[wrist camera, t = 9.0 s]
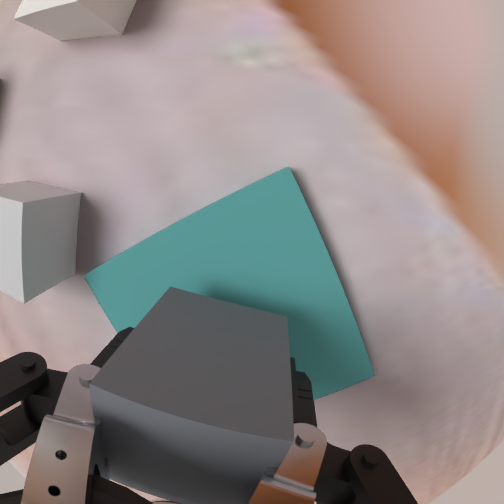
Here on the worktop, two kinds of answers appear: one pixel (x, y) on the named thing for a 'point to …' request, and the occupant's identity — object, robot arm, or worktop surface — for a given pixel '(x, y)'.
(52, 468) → the robot arm
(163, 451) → the charcoal block
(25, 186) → the grey block
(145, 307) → the teal mat
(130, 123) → the worktop surface
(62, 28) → the offwhite block
